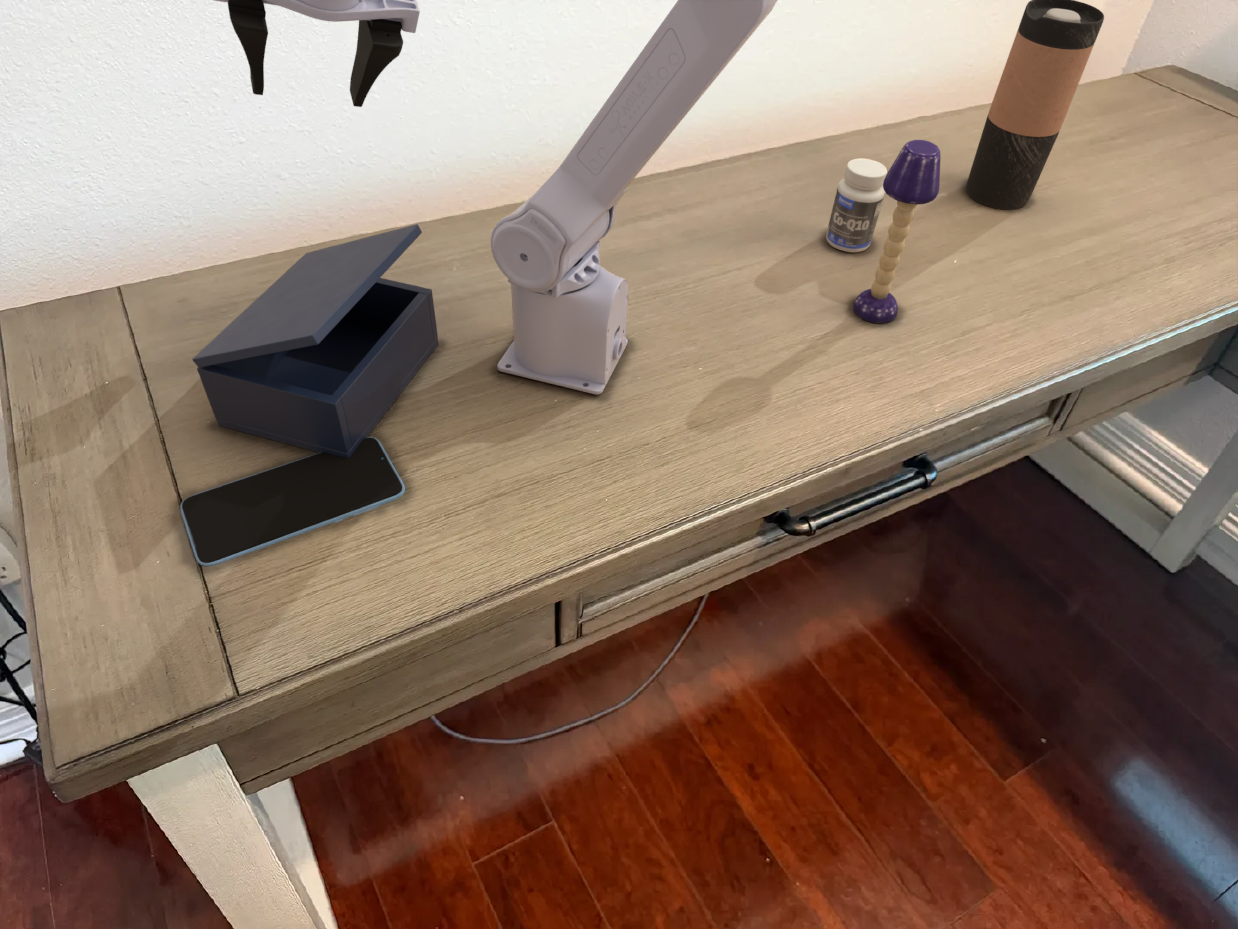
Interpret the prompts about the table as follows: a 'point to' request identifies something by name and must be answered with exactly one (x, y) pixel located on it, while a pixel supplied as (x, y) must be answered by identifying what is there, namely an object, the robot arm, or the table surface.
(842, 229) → the pill bottle
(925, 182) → the toy lamp
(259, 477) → the smartphone
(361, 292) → the lid
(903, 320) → the table surface
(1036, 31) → the travel mug
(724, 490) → the table surface
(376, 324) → the box
